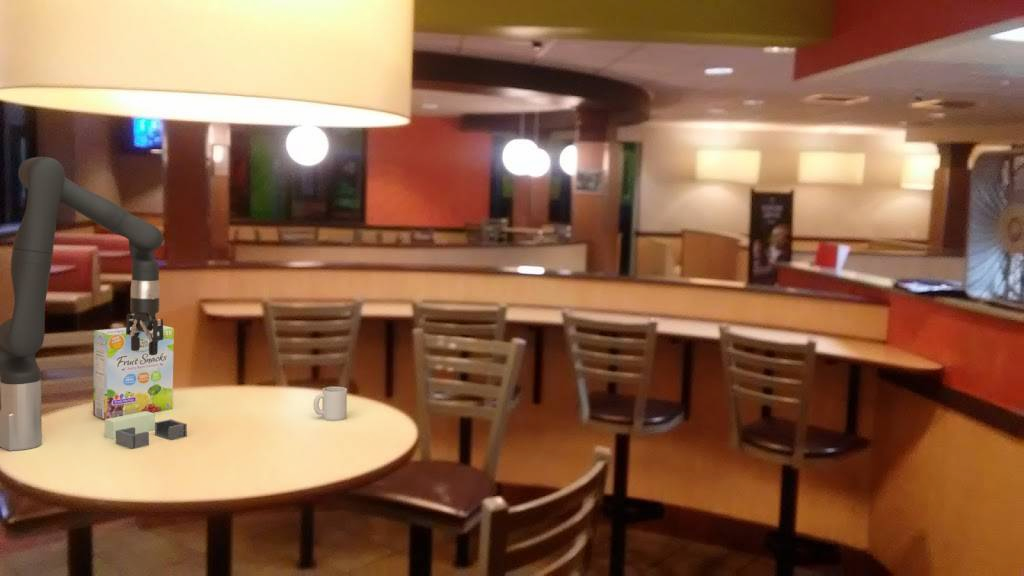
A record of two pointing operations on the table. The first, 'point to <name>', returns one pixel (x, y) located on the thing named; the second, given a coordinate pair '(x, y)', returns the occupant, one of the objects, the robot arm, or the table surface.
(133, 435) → the end cap
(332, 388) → the cup
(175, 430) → the end cap
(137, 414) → the slat
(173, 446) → the table surface
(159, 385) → the snack box
